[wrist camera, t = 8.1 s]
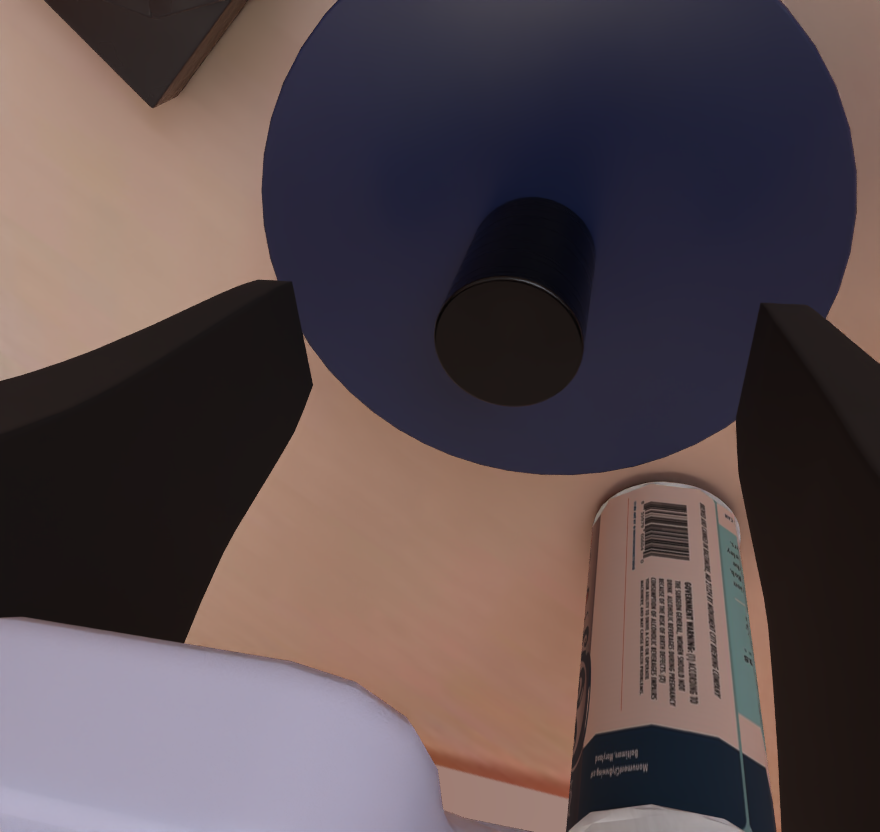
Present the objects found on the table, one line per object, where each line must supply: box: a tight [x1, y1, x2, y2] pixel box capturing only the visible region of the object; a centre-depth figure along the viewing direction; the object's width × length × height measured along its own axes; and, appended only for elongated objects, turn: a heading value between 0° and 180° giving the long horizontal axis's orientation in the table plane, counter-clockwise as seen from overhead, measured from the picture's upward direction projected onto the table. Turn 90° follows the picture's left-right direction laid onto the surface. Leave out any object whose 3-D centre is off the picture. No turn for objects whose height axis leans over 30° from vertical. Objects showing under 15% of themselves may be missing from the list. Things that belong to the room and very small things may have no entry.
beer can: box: [566, 481, 776, 832], centre depth 21 cm, size 5×5×12 cm
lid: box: [262, 0, 857, 475], centre depth 13 cm, size 11×11×4 cm
